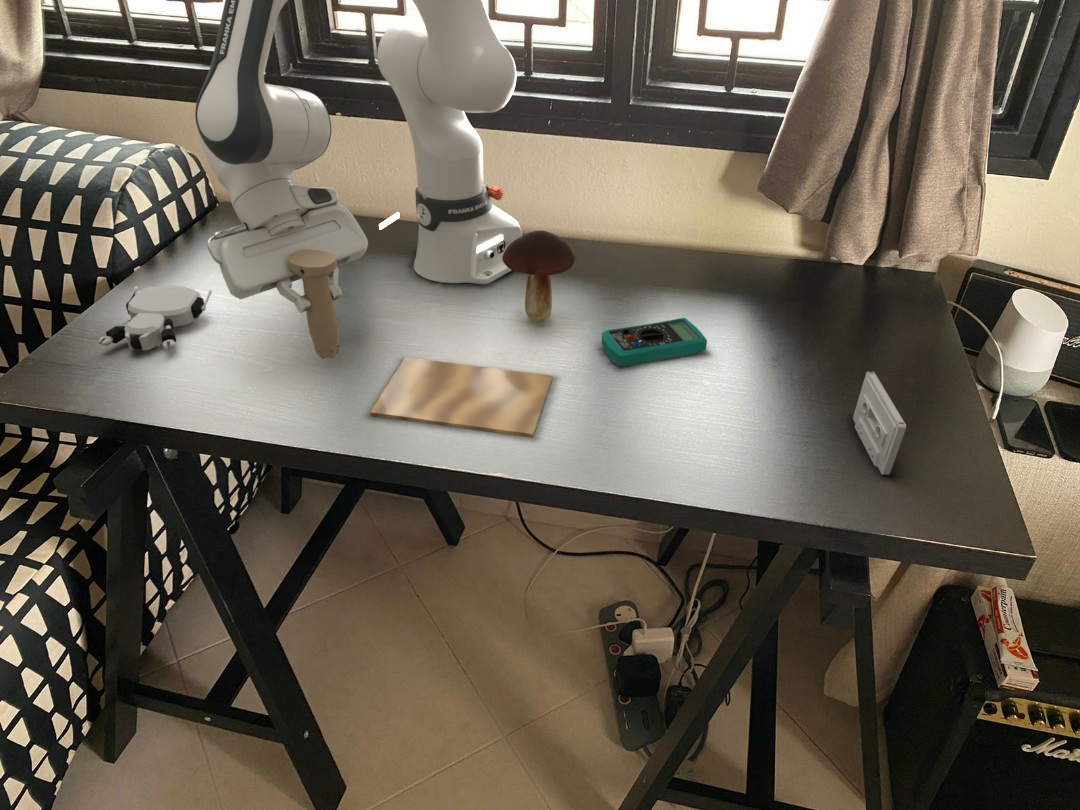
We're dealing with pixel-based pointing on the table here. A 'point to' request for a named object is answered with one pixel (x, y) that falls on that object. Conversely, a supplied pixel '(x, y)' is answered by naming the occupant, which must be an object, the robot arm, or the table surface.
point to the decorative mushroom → (539, 268)
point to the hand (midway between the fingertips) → (322, 304)
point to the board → (465, 397)
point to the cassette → (878, 424)
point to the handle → (318, 298)
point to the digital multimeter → (653, 342)
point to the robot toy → (157, 316)
